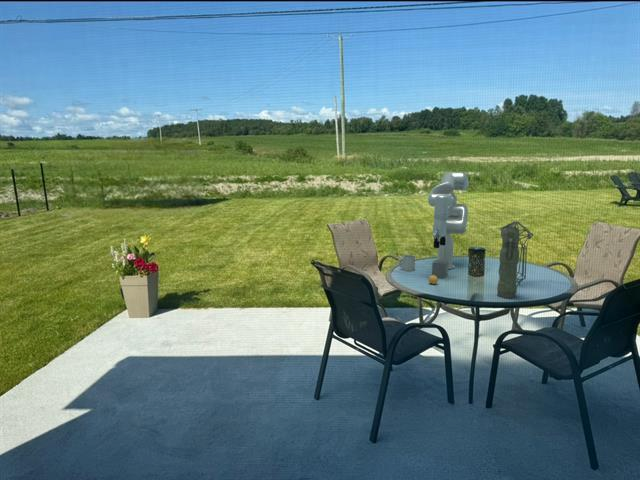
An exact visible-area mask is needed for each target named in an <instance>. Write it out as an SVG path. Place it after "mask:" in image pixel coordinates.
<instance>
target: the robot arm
mask: <svg viewBox="0 0 640 480" xmlns="http://www.w3.org/2000/svg"><path fill="white" fill-rule="evenodd" d="M469 182H470V181H469V178H468V176H467V174H466V173H465V172H462V171H448V172H444V173H443V175H442V178H441V179H440V184H438V185H436V186H434V187H432V189H431V190H430V192H429V195H428V198H427V200H428V201H427V203H428V205H429V206H430V207H434V211H433V213H434V214H433V220H434V222H433V225H432V226H433V227H432V237H433V248H435V249H437V253H436V254H437V256H436V257H437V259H436V260H441V261H448V270H453V269H455V267H456V266H455V265H454V264H453V258H454V257H453V256H454V245H455V244H454V243H455V242H454V238H453V237H452V235H451V234H453V235H454V234H455V235H457V234H458V235H460V234H461V235H463V234H465V233H466V230H467V225H468V224H467V223H468V215H469V207H468V206H467V205H466V204H464V203H457V202H458V197H457V195H456V194H455V192H454V191H465V190H467V189H468V188H469V184H470V183H469Z"/></svg>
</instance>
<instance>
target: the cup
mask: <svg viewBox="0 0 640 480" xmlns="http://www.w3.org/2000/svg"><path fill="white" fill-rule="evenodd" d="M398 266H399V268H402V271H405V272H415V267H416V255H414V254H413V255H412V254H404V255H403V256H402V257H400V258H399V259H398Z"/></svg>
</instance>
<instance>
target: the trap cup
mask: <svg viewBox="0 0 640 480" xmlns="http://www.w3.org/2000/svg"><path fill="white" fill-rule="evenodd" d="M431 268H432V269H431V271H432V272H431V276H432V275H435V276H436V277H437V278H438V279H446V278H447V277H448V276H449V269H448V261H441V260H437V259H435V260H434V261H432V266H431Z"/></svg>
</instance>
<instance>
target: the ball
mask: <svg viewBox="0 0 640 480" xmlns="http://www.w3.org/2000/svg"><path fill="white" fill-rule="evenodd" d="M438 282H439V278H437V277H436V276H435V275H432V274H431V275H430V276H429V277H428V283H429V284H431V285H436V284H437V283H438Z"/></svg>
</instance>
